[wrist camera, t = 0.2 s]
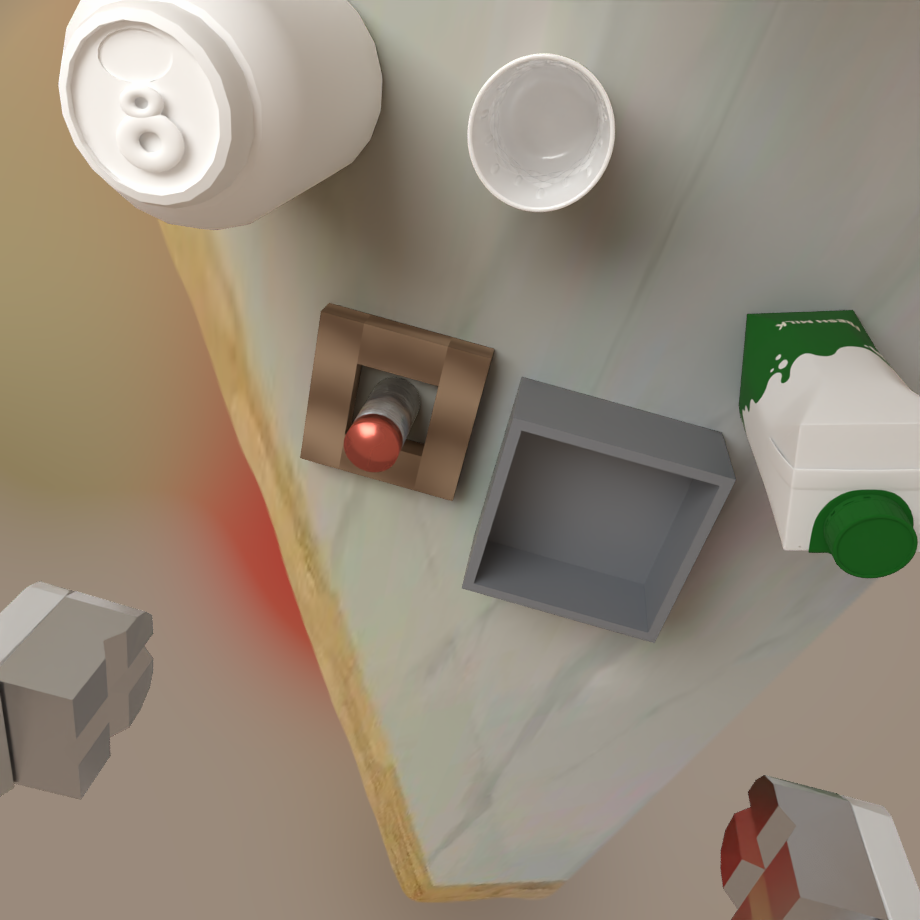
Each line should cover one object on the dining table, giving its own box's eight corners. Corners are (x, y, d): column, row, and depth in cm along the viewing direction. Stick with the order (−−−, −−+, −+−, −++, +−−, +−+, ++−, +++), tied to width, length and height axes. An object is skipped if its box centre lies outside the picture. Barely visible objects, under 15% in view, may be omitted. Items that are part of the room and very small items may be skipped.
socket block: (329, 302, 59) (321, 311, 57) (494, 348, 58) (491, 359, 57) (308, 446, 65) (300, 458, 64) (456, 488, 65) (452, 501, 63)
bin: (521, 376, 59) (513, 417, 53) (721, 432, 59) (735, 479, 53) (473, 537, 67) (461, 588, 61) (649, 586, 67) (654, 642, 61)
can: (394, 177, 53) (297, 253, 36) (223, 181, 55) (55, 255, 38) (376, -38, 47) (249, -69, 30) (185, -25, 49) (-36, -48, 32)
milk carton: (724, 416, 58) (777, 582, 41) (734, 299, 54) (798, 431, 37) (850, 414, 57) (959, 586, 40) (870, 294, 52) (1003, 429, 35)
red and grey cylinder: (376, 371, 61) (348, 416, 54) (425, 385, 61) (403, 431, 54) (368, 415, 63) (339, 463, 56) (415, 428, 63) (393, 478, 56)
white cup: (619, 166, 51) (623, 196, 42) (502, 190, 53) (484, 224, 44) (603, 32, 47) (604, 36, 39) (477, 64, 49) (452, 74, 41)
